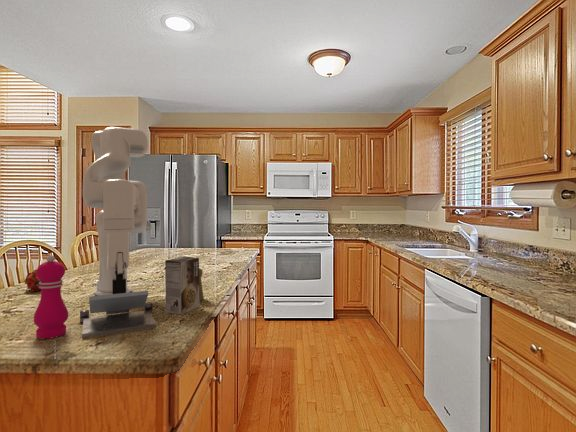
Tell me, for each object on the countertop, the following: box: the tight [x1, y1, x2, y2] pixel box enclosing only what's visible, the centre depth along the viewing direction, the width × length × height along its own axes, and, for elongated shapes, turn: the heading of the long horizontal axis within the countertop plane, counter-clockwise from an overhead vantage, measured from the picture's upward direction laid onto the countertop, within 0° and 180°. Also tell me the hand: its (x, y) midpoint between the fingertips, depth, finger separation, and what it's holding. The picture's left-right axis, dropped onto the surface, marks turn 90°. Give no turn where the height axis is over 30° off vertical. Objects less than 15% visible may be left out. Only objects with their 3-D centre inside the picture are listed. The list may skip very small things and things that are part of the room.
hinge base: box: [79, 302, 157, 339], centre depth 97 cm, size 17×19×3 cm
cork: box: [199, 267, 205, 302], centre depth 123 cm, size 6×6×11 cm
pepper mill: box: [33, 254, 69, 339], centre depth 88 cm, size 7×7×20 cm
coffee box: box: [164, 256, 200, 315], centre depth 110 cm, size 9×6×16 cm
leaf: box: [88, 290, 149, 316], centre depth 98 cm, size 15×14×2 cm
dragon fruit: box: [24, 269, 41, 292], centre depth 137 cm, size 8×8×12 cm
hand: (119, 294), depth 94 cm, fingers closed
